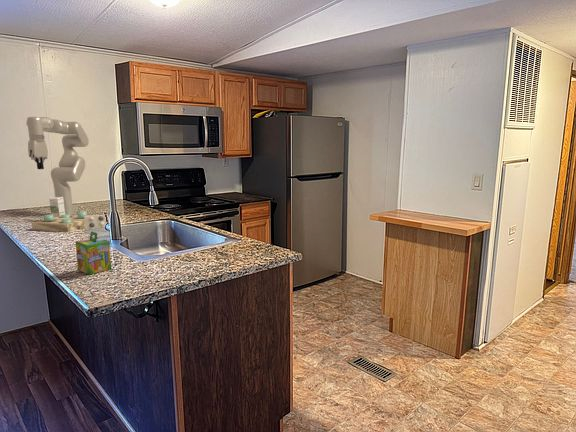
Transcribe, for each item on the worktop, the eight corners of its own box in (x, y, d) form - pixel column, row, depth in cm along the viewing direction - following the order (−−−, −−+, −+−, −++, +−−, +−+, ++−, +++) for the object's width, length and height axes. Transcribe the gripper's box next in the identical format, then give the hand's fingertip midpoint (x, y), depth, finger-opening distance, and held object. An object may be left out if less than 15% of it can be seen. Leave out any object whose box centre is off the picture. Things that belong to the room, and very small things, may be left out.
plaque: (85, 228, 229) (84, 216, 228) (108, 226, 234) (107, 214, 233) (85, 228, 228) (84, 216, 226) (108, 226, 233) (107, 214, 231)
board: (65, 221, 250) (64, 215, 249) (98, 223, 243) (98, 216, 243) (32, 229, 227) (31, 222, 226) (67, 232, 221) (67, 224, 220)
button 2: (65, 220, 245) (65, 214, 244) (72, 221, 244) (71, 214, 243) (59, 222, 240) (58, 215, 240) (66, 222, 239) (65, 216, 238)
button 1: (49, 221, 233) (48, 214, 232) (55, 221, 232) (55, 214, 231) (42, 222, 229) (41, 215, 228) (49, 223, 227) (48, 216, 227)
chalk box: (77, 270, 155) (73, 233, 152) (101, 265, 162) (97, 228, 159) (88, 275, 150) (84, 236, 147) (112, 269, 157) (109, 232, 154)
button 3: (66, 225, 231) (66, 218, 230) (73, 226, 229) (73, 219, 229) (60, 227, 226) (59, 220, 225) (67, 227, 225) (66, 220, 224)
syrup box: (66, 219, 256) (63, 196, 253) (60, 221, 250) (57, 198, 247) (57, 219, 256) (55, 196, 254) (51, 221, 251) (48, 197, 248)
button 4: (82, 217, 241) (81, 211, 241) (88, 218, 240) (88, 211, 240) (75, 219, 237) (75, 212, 236) (82, 219, 236) (82, 213, 235)
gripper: (42, 138, 249) (45, 168, 253) (20, 138, 235) (24, 170, 238) (52, 138, 247) (55, 168, 251) (31, 138, 233) (35, 170, 237)
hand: (40, 169), depth 245 cm, fingers closed
